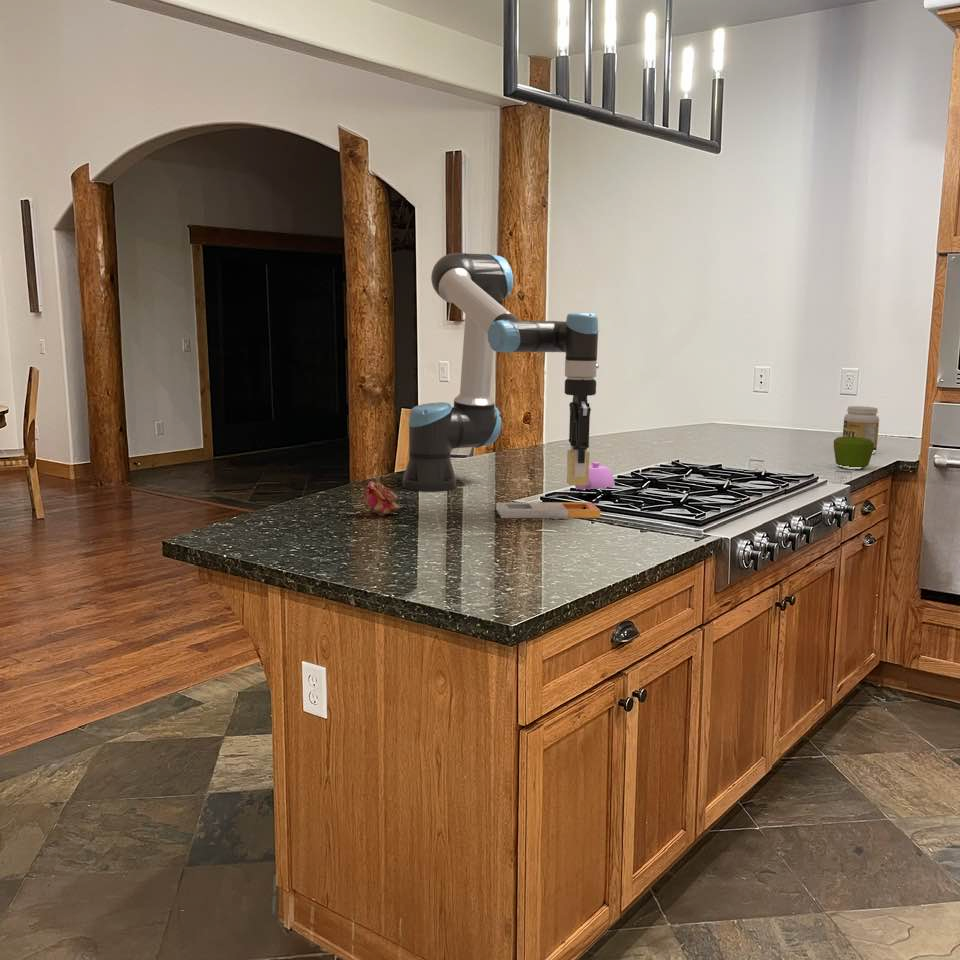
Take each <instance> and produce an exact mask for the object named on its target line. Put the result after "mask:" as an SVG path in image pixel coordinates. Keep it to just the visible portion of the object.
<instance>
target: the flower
mask: <svg viewBox="0 0 960 960" xmlns="http://www.w3.org/2000/svg"><path fill="white" fill-rule="evenodd" d="M367 484H368V485H367V486H366V488H365V489H363V491H364V499H365V500H364V502H366V504H367V505H368V507H369V508H368V509H369V510H368V511H367V514H368V515H372V513H374V511H375V512H376V514H377V515H378V516H381V517H382V516H383V517H387V516H385V515H386V514H392V515H393V513H394V511H395V509H401V508H402V505H399V504H398V503H396V502H397V498H398V495H397V494H396V493H394V492H393V491H392V489H391V490H390V489H389V488H388V487H387V486H386V487H385V486H384V485H383V484H382V483H381V482H379V481H378V482H376V483H375V482H373V481H372V480H370V481H369V482H368V483H367Z"/></svg>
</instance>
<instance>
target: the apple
mask: <svg viewBox="0 0 960 960" xmlns="http://www.w3.org/2000/svg"><path fill="white" fill-rule="evenodd" d="M873 449H874V443H873V442H872V441H871V440H870V439H866V438H860V437H854V435H853V437H843V436H838V437H836V438H835V439H834V440H833V452H834V459H835V464H836V465H837V464H838V465H842V466H849V467H864V468H866V467H868V466H869V464H870V461H871V458H872V455H873V454H872V452H873ZM838 465H837V466H838Z"/></svg>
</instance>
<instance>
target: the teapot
mask: <svg viewBox="0 0 960 960" xmlns="http://www.w3.org/2000/svg"><path fill="white" fill-rule="evenodd" d="M600 464H601V463H600V462H599V461H592V462H591V464H589V484H588V485H574V488H575V489H576V488H578V489H599V488H607V487H613V486H615V487H616V484H615V483H616V482H615V479H614V475H613V472H612V471H611V469H610V467H608V466H605V465H600Z"/></svg>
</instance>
